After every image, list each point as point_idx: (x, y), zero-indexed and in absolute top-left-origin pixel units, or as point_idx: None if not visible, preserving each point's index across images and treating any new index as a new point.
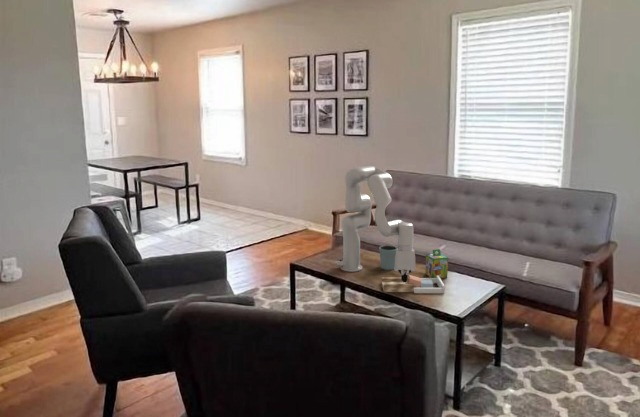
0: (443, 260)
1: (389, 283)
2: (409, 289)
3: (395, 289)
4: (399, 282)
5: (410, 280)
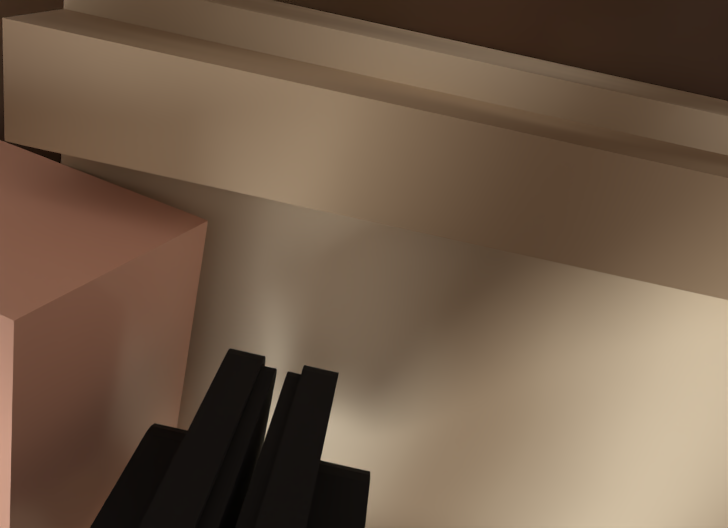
0: None
1: (703, 515)
2: (232, 3)
3: (709, 108)
4: (385, 513)
5: (45, 271)
